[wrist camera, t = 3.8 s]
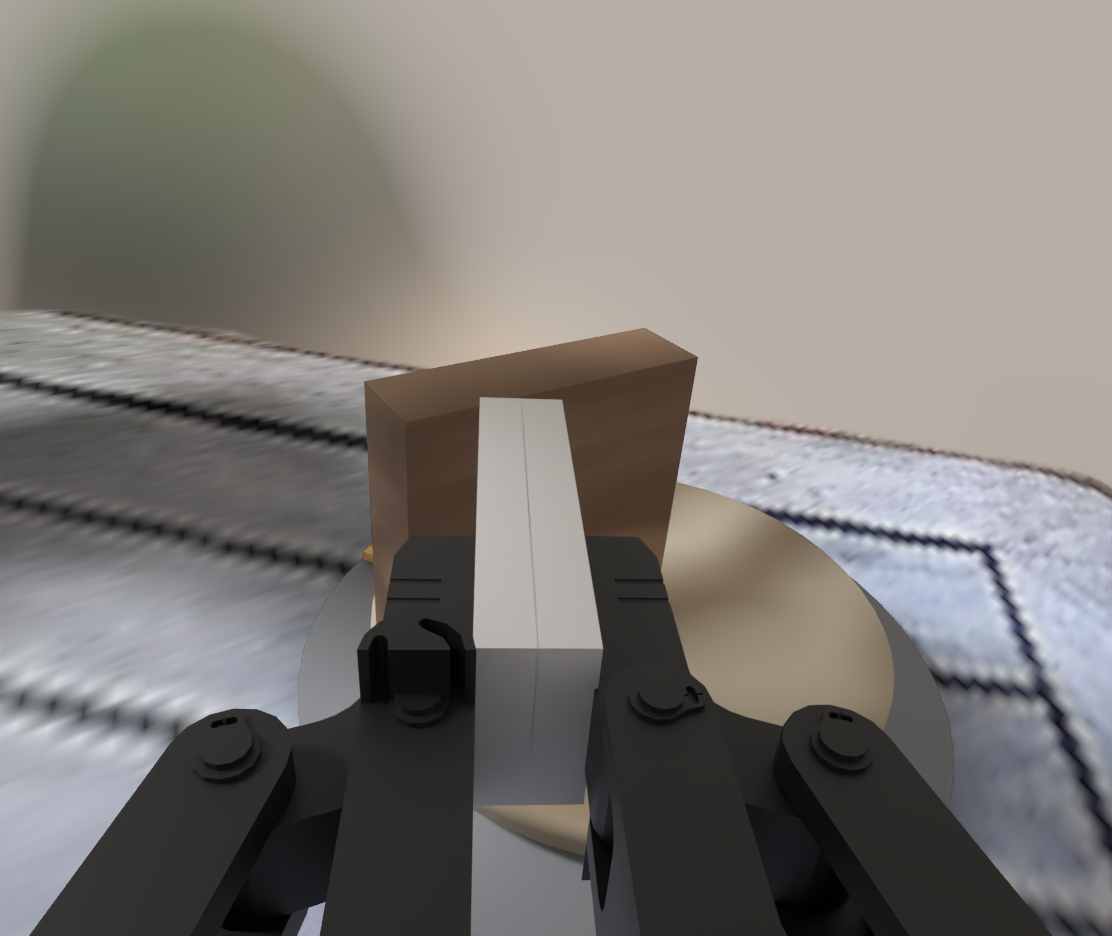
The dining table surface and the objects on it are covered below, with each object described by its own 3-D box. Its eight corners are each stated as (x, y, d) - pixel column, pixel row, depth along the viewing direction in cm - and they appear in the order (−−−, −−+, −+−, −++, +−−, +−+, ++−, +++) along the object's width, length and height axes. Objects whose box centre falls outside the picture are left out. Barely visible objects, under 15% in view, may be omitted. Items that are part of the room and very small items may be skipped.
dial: (297, 574, 32) (265, 284, 26) (657, 465, 41) (694, 232, 35) (558, 996, 20) (609, 623, 14) (991, 706, 29) (1134, 407, 23)
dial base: (219, 603, 34) (213, 565, 33) (657, 469, 45) (662, 439, 44) (518, 1223, 18) (522, 1187, 17) (1074, 771, 29) (1096, 734, 28)
